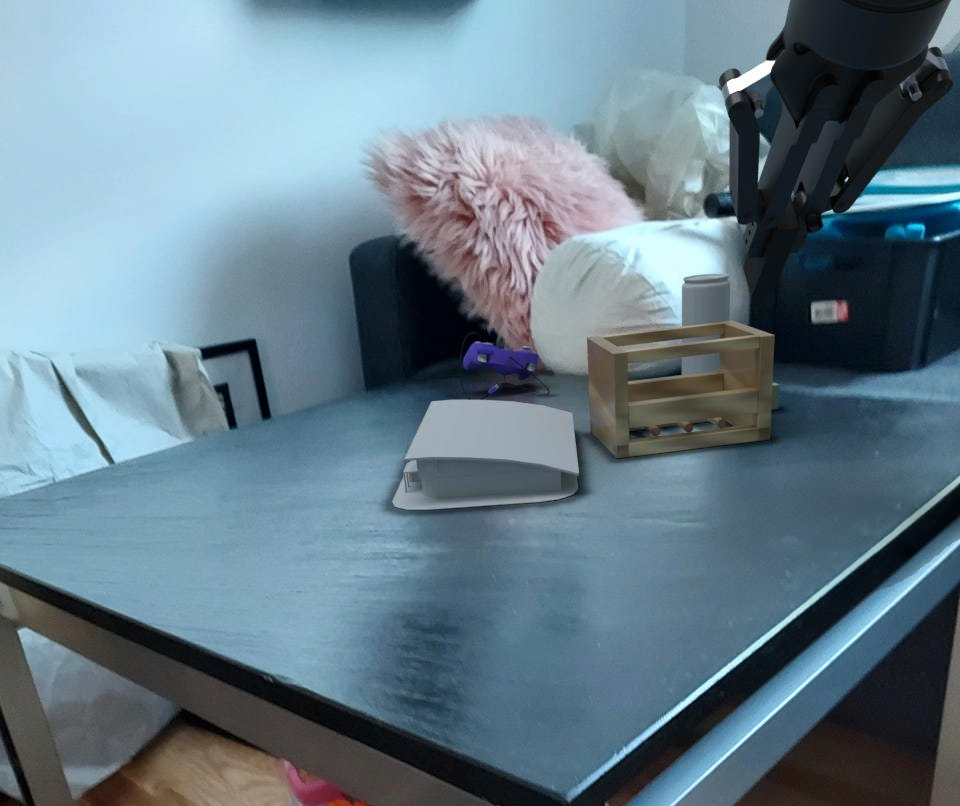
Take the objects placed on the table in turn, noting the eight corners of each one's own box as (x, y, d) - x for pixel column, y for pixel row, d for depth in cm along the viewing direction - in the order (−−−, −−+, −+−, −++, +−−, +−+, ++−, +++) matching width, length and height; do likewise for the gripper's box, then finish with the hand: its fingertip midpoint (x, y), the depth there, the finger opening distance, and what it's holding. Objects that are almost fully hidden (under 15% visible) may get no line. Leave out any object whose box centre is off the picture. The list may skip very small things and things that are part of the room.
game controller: (527, 346, 118) (558, 338, 109) (518, 413, 119) (547, 411, 110) (451, 331, 115) (476, 322, 105) (442, 400, 116) (466, 397, 107)
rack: (729, 415, 94) (732, 320, 90) (770, 439, 85) (774, 334, 81) (590, 432, 92) (586, 336, 89) (616, 458, 84) (613, 353, 80)
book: (387, 512, 76) (380, 464, 74) (420, 438, 96) (416, 399, 95) (580, 499, 74) (578, 450, 73) (572, 427, 95) (570, 387, 93)
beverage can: (712, 387, 105) (714, 272, 100) (736, 395, 101) (739, 275, 96) (673, 394, 104) (673, 277, 99) (695, 402, 100) (697, 280, 94)
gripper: (774, 15, 44) (677, 335, 66) (1046, -13, 45) (860, 314, 67) (739, -96, 47) (657, 249, 69) (997, -121, 47) (833, 229, 69)
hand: (757, 281), depth 68 cm, fingers closed
